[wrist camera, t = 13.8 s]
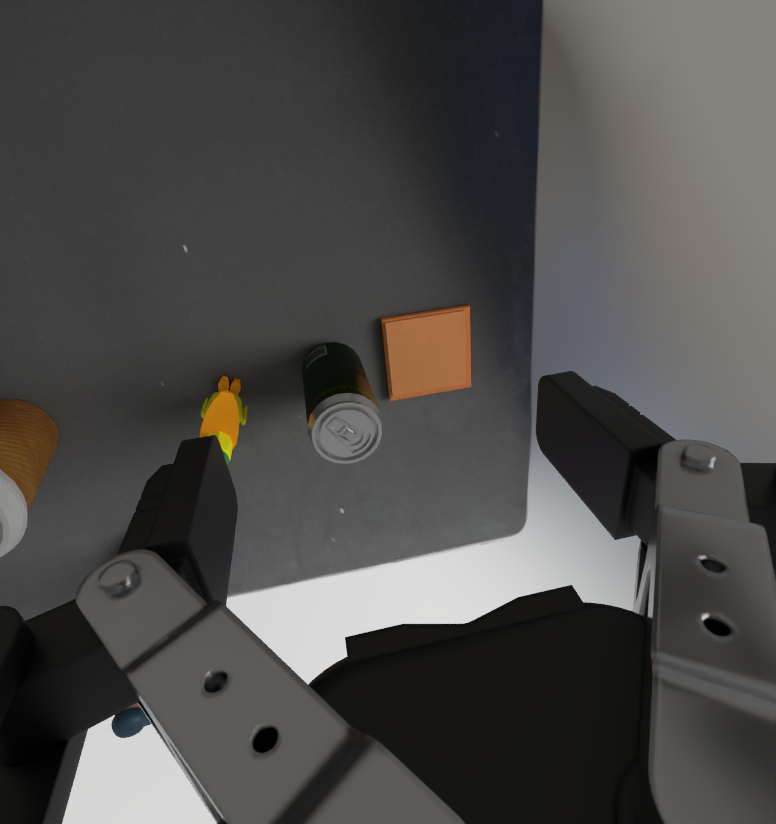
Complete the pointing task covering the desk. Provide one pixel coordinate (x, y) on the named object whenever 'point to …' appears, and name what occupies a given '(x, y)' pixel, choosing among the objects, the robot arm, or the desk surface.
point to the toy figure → (224, 415)
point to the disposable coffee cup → (22, 464)
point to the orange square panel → (427, 352)
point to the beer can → (340, 404)
